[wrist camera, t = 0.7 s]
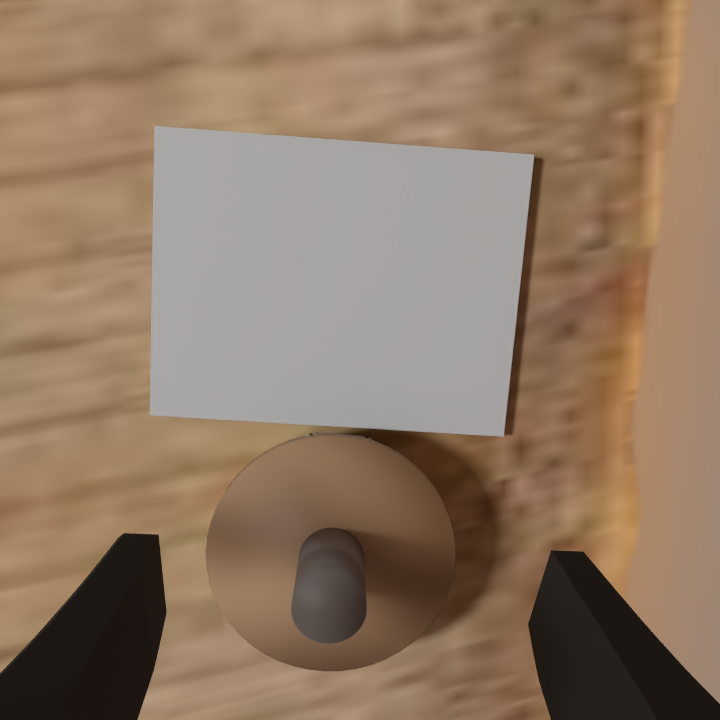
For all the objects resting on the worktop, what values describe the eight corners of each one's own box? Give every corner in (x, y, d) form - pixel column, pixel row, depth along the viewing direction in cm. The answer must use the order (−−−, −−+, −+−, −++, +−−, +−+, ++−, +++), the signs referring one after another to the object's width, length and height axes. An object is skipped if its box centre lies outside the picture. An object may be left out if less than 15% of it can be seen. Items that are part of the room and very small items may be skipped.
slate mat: (501, 433, 29) (503, 436, 29) (153, 412, 29) (149, 415, 28) (530, 156, 27) (534, 154, 27) (158, 128, 27) (154, 126, 26)
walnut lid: (441, 668, 29) (460, 744, 24) (205, 656, 29) (178, 732, 24) (464, 441, 27) (488, 478, 23) (212, 426, 27) (185, 460, 22)
